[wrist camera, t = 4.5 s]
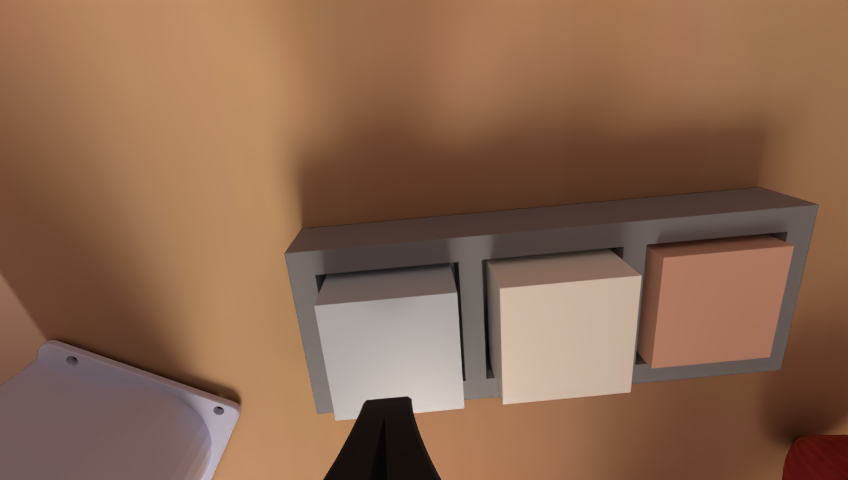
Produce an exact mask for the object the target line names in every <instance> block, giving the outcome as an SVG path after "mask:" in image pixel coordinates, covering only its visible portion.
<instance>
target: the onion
mask: <svg viewBox="0 0 848 480" xmlns="http://www.w3.org/2000/svg"><path fill="white" fill-rule="evenodd" d="M782 480H848V435H812V436H803V437H799V438H798V439H795V441H794V442H793V445H792V446H791V448H790V450H789V451H788V454H787V456H786V459H785V463H784V468H783V475H782Z"/></svg>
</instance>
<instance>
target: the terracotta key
mask: <svg viewBox="0 0 848 480" xmlns="http://www.w3.org/2000/svg"><path fill="white" fill-rule="evenodd" d="M793 249H794V245H791V244H789V243H787V242H784V241H782V240H779V239H777V238H775V237H772V236H770V235H767V234H756V235H745V236H734V237H723V238H712V239H701V240H690V241H680V242H669V243H658V244H647V248H646V258H645V268H644V279H643V289H642V299H641V310H640V320H639V330H638V341H637V352H638V354H639V355H640V356H641V357H642V358H643V359H644V360H645V362H646V363H647V364H648V365H649V366H650V367H651V369H652V368H662V367H673V366H683V365H694V364H704V363H715V362H725V361H736V360H746V359H757V358H767V357H770V354H771V350H772V345H773V340H774V336H775V331H776V327H777V322H778V318H779V313H780V308H781V304H782V299H783V295H784V290H785V286H786V281H787V276H788V272H789V267H790V263H791V258H792V254H793Z"/></svg>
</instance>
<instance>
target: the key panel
mask: <svg viewBox="0 0 848 480" xmlns="http://www.w3.org/2000/svg"><path fill="white" fill-rule="evenodd" d="M818 206H819V205H818V204H815V203H811V202H808V201H805V200H801V199H798V198H794V197H791V196H788V195H784V194H781V193H777V192H774V191H771V190H767V189H764V188H761V187H756V188H745V189H734V190H723V191H712V192H701V193H690V194H679V195H668V196H657V197H646V198H635V199H624V200H613V201H602V202H591V203H580V204H569V205H558V206H547V207H536V208H525V209H514V210H503V211H492V212H481V213H470V214H459V215H448V216H437V217H426V218H415V219H404V220H393V221H382V222H371V223H360V224H349V225H338V226H327V227H316V228H305V229H301V231H300V232H299V233H298V235H297V236H296V238H295V239H294V240H293V242H292V243H291V245H290V246H289V248H288V249H287V250H286V252H285V253H284V254H285V259H286V264H287V269H288V274H289V279H290V284H291V288H292V293H293V298H294V303H295V308H296V313H297V318H298V323H299V328H300V332H301V337H302V342H303V347H304V352H305V357H306V362H307V367H308V372H309V376H310V381H311V386H312V391H313V396H314V401H315V406H316V411H317V414H323V413H334V409H333V404H332V399H331V393H330V388H329V383H328V377H327V372H326V367H325V361H324V356H323V351H322V345H321V340H320V335H319V329H318V324H317V319H316V314H315V308H314V305H315V302H316V300H317V297H318V295H319V292H320V290H321V288H322V285H323V283H324V280H325V278H326V275H327V274H332V273H343V272H354V271H364V270H375V269H386V268H397V267H408V266H419V265H430V264H440V263H450V266H451V270H452V274H453V278H454V282H455V286H456V290H457V297H458V313H459V329H460V345H461V361H462V377H463V393H464V400H470V399H480V398H491V397H500V393H499V390H498V387H497V384H496V380H495V377H494V374H493V370H492V367H491V364H490V355H489V327H488V300H487V273H486V259H495V258H506V257H517V256H527V255H538V254H549V253H560V252H571V251H582V250H593V249H603V248H609V249H610V250H611V251H612V252H614V253H615V254H616V255H617V256H618V257H620V258H621V259H622V260H623V261H625V262H626V263H627V264H628V265H630V266H631V267H632V268H633V269H634V270H636V271H637V272H638V273H639V274H641V275H642V277H641V288H640V298H639V309H638V320H637V330H636V341H635V351H634V362H633V372H632V383H631V384H637V383H647V382H658V381H668V380H679V379H689V378H700V377H710V376H721V375H731V374H741V373H752V372H762V371H773V370H781V366H782V361H783V357H784V353H785V348H786V344H787V340H788V335H789V331H790V327H791V322H792V318H793V314H794V309H795V305H796V301H797V296H798V292H799V288H800V283H801V279H802V275H803V271H804V266H805V262H806V258H807V253H808V249H809V245H810V240H811V236H812V232H813V227H814V223H815V219H816V214H817V210H818ZM756 234H767V235H770V236H772V237H775V238H777V239H779V240H782V241H784V242H787V243H789V244H791V245H794V249H793V254H792V258H791V263H790V267H789V272H788V276H787V281H786V286H785V290H784V295H783V299H782V304H781V308H780V313H779V318H778V322H777V327H776V331H775V336H774V340H773V345H772V350H771V354H770V357H767V358H757V359H746V360H736V361H725V362H715V363H704V364H694V365H683V366H673V367H662V368H652V369H651V367H650V366H649V365H648V364H647V363H646V362H645V360H644V359H643V358H642V357H641V356H640V355H639V354H638V352H637V341H638V330H639V320H640V310H641V299H642V289H643V279H644V268H645V258H646V248H647V244H658V243H669V242H680V241H690V240H701V239H712V238H723V237H734V236H745V235H756Z"/></svg>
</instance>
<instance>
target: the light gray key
mask: <svg viewBox="0 0 848 480" xmlns="http://www.w3.org/2000/svg"><path fill="white" fill-rule="evenodd" d="M314 308H315V314H316V319H317V324H318V329H319V335H320V340H321V345H322V351H323V356H324V361H325V367H326V372H327V377H328V383H329V388H330V393H331V399H332V404H333V409H334V415H335V420H336V421H337V420H348V419H357V418H358V415H359V413H360V411H361V408H362V406H363V403H364V402H365V401H366V400H373V399H383V398H394V397H404V396H408V397H409V398H411V399H412V407H413V413H421V412H431V411H441V410H452V409H462V408H464V393H463V377H462V361H461V345H460V329H459V313H458V297H457V290H456V286H455V282H454V278H453V274H452V270H451V266H450V263H440V264H430V265H419V266H408V267H397V268H386V269H375V270H364V271H354V272H343V273H332V274H327V275H326V278H325V280H324V283H323V285H322V288H321V290H320V292H319V295H318V297H317V300H316V302H315V305H314Z"/></svg>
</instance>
